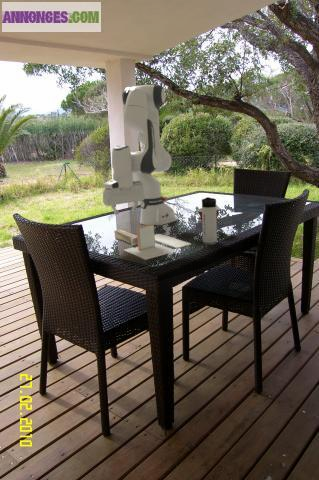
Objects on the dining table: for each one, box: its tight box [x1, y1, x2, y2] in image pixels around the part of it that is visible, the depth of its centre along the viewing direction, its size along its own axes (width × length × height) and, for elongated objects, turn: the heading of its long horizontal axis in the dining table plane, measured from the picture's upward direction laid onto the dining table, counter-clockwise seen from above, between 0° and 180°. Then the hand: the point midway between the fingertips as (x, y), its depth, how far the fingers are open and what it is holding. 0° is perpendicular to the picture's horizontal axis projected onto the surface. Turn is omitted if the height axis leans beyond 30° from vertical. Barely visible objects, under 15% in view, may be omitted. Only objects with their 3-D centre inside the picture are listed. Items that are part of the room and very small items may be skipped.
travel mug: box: [201, 196, 218, 246], centre depth 175 cm, size 6×7×20 cm
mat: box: [123, 242, 177, 260], centre depth 169 cm, size 16×18×1 cm
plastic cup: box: [197, 206, 221, 224], centre depth 193 cm, size 11×11×12 cm
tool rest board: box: [154, 233, 192, 249], centre depth 181 cm, size 8×24×1 cm, turn 35°
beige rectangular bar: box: [113, 229, 138, 247], centre depth 186 cm, size 6×19×4 cm, turn 35°
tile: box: [136, 224, 156, 250], centre depth 171 cm, size 8×2×10 cm, turn 125°
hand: (125, 212), depth 182 cm, fingers open, 8 cm apart
